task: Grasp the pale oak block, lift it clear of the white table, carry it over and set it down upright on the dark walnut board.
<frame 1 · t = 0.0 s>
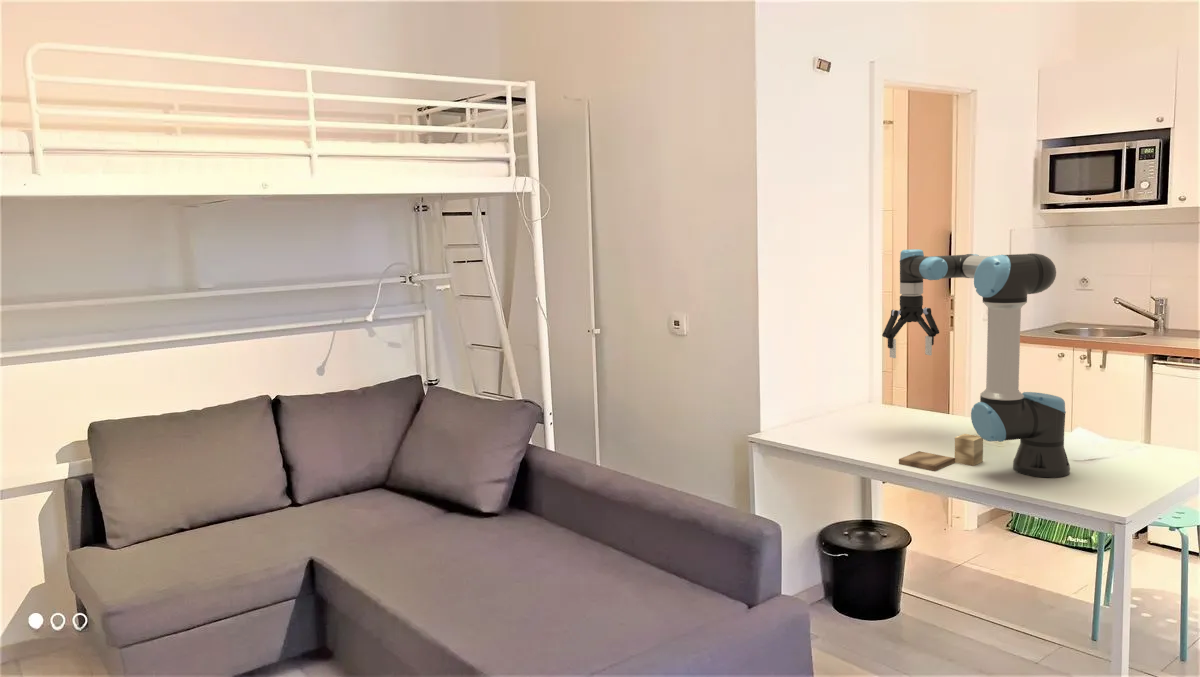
hand: (910, 356, 304), 28 cm above the table, fingers open, 13 cm apart
oak block: (968, 462, 273), on the table
walnut board: (926, 463, 274), on the table
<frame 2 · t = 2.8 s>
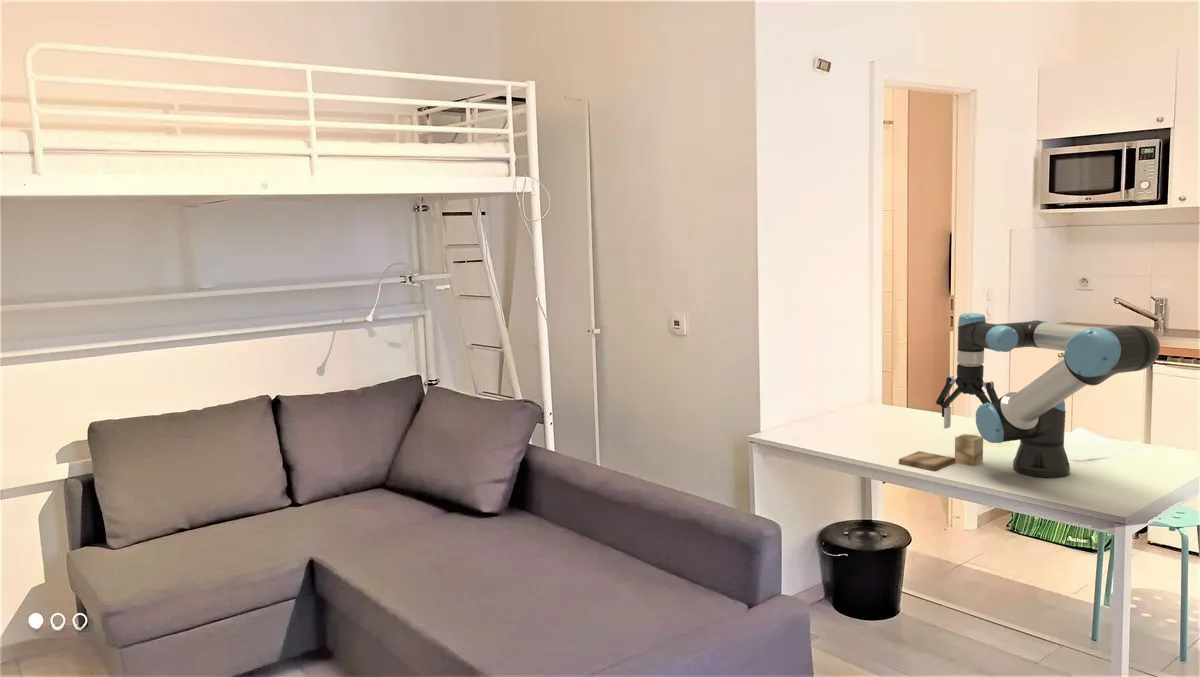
hand: (968, 431, 272), 10 cm above the table, fingers open, 13 cm apart
nothing on the table moved.
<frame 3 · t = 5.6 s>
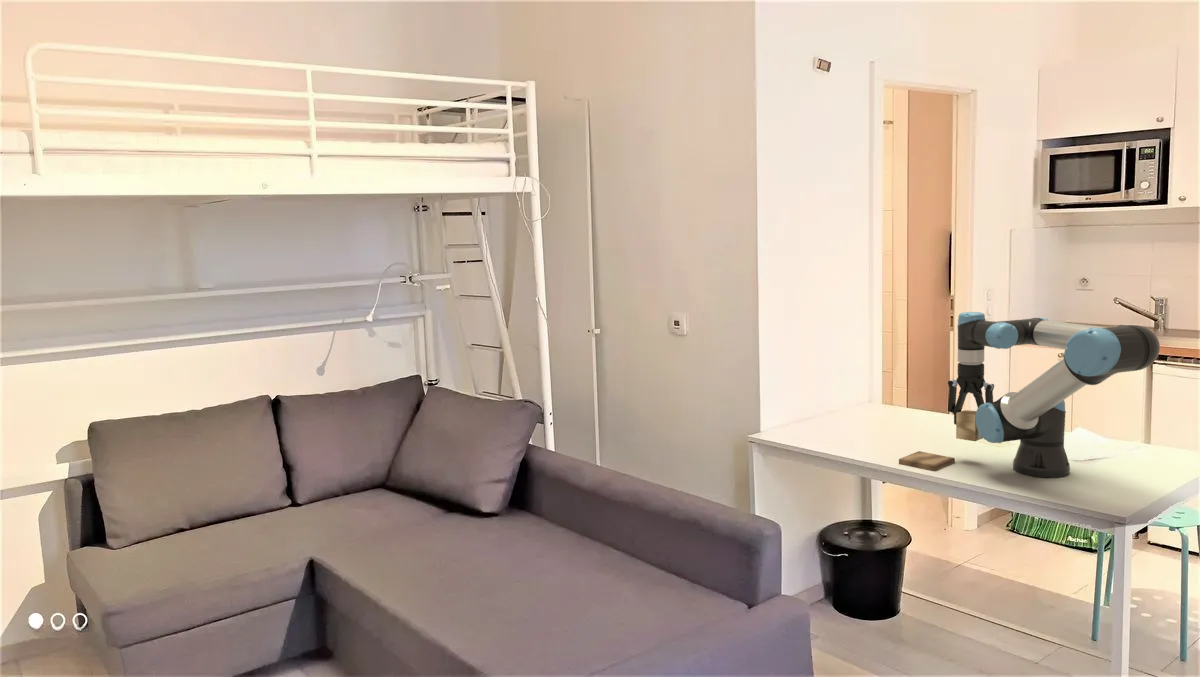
hand: (970, 436, 272), 8 cm above the table, fingers closed on oak block, 6 cm apart
oak block: (970, 438, 272), point 8 cm above the table, touching gripper
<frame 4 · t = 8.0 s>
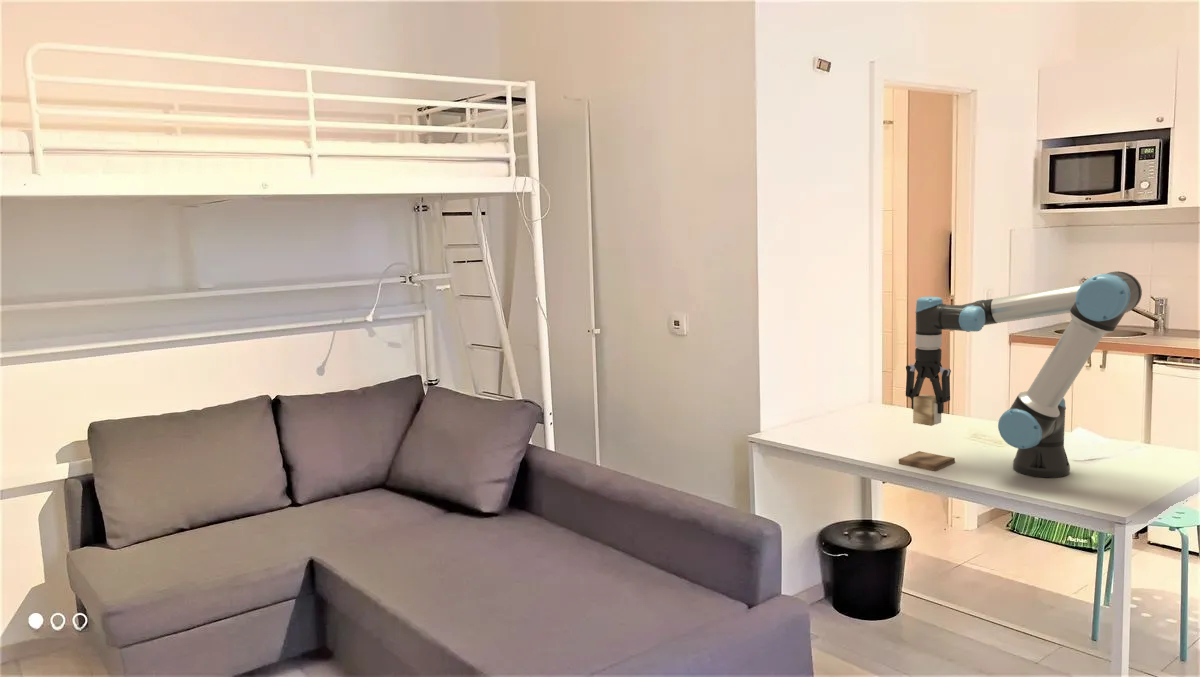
hand: (927, 421, 272), 13 cm above the table, fingers closed on oak block, 6 cm apart
oak block: (927, 422, 272), point 13 cm above the table, touching gripper
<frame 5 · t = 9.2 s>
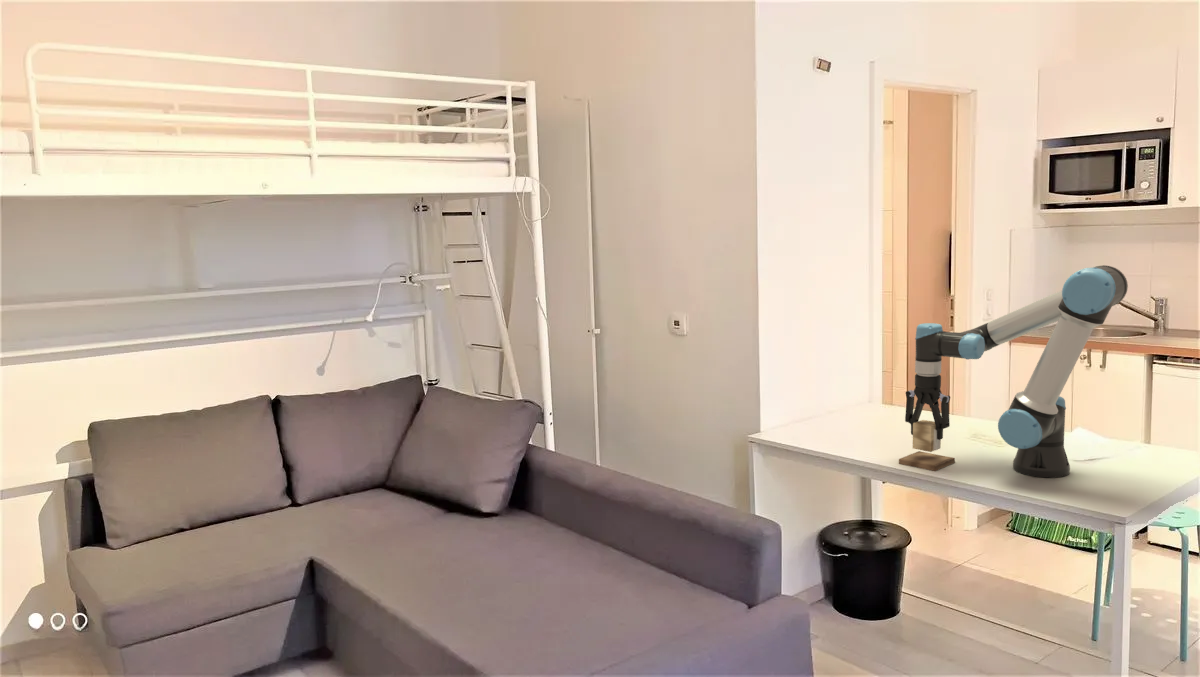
hand: (926, 447, 273), 5 cm above the table, fingers closed on oak block, 6 cm apart
oak block: (926, 448, 273), point 5 cm above the table, touching gripper
when the fingers open (2 cm above the table, at t = 10.5 s): oak block stays where it is, resting on walnut board.
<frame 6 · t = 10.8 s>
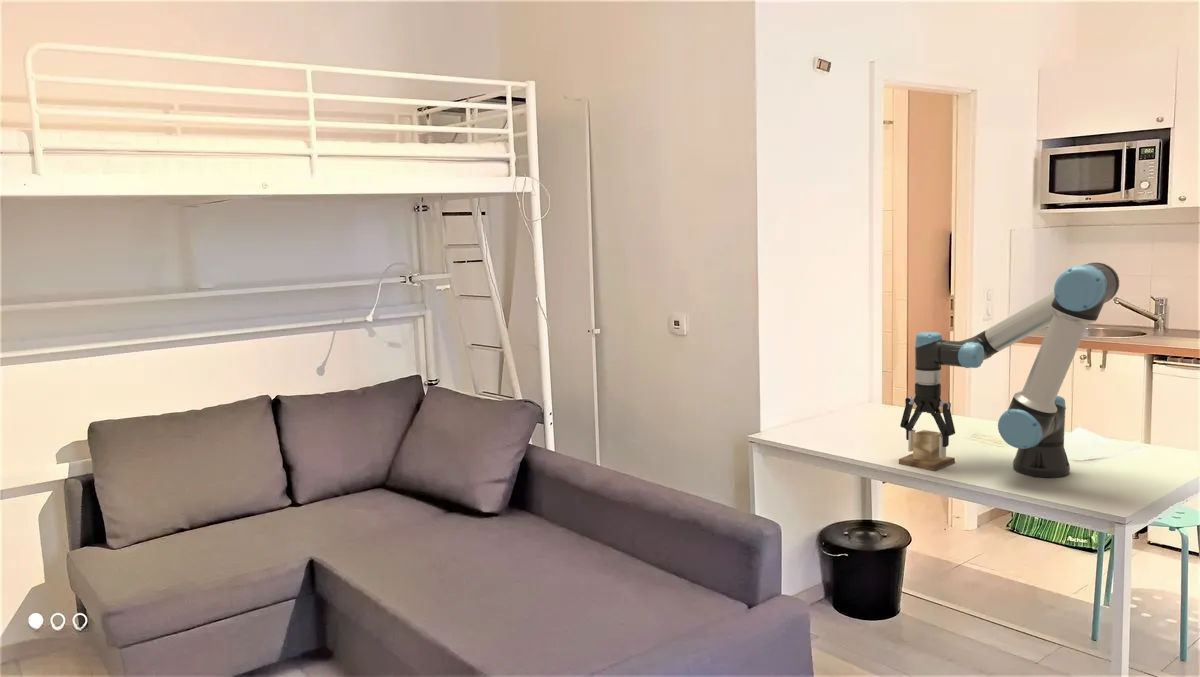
hand: (926, 453, 273), 3 cm above the table, fingers open, 9 cm apart
oak block: (927, 458, 273), point 2 cm above the table, touching walnut board
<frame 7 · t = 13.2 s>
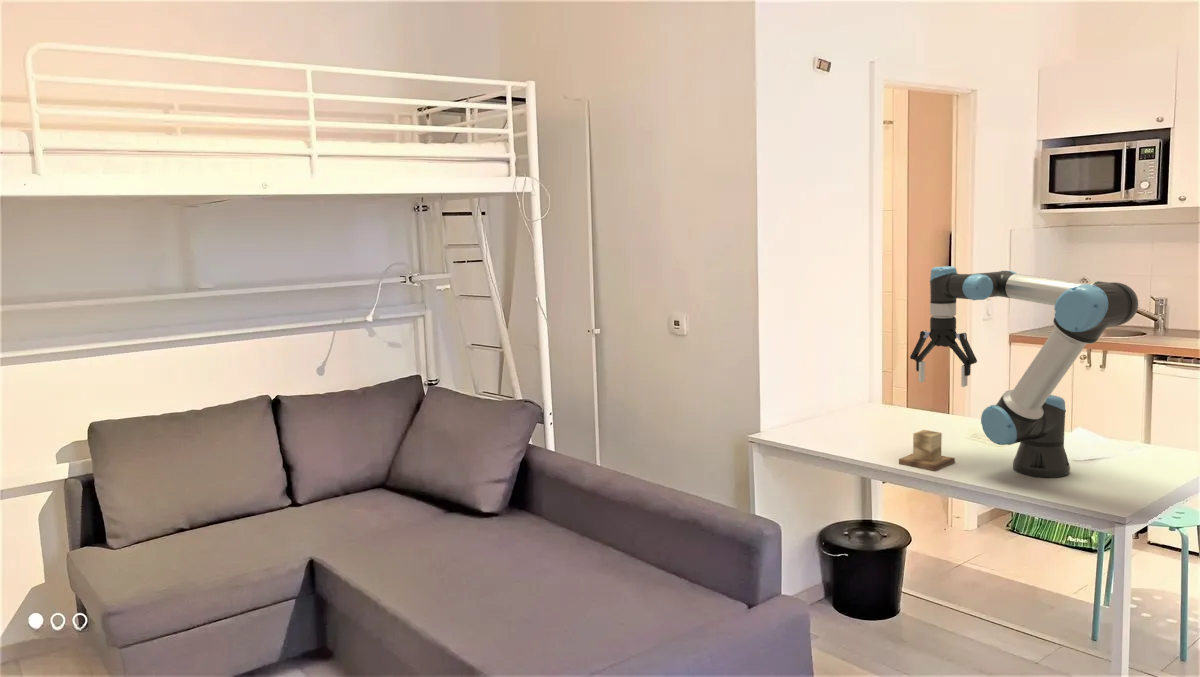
hand: (942, 384, 276), 24 cm above the table, fingers open, 13 cm apart
nothing on the table moved.
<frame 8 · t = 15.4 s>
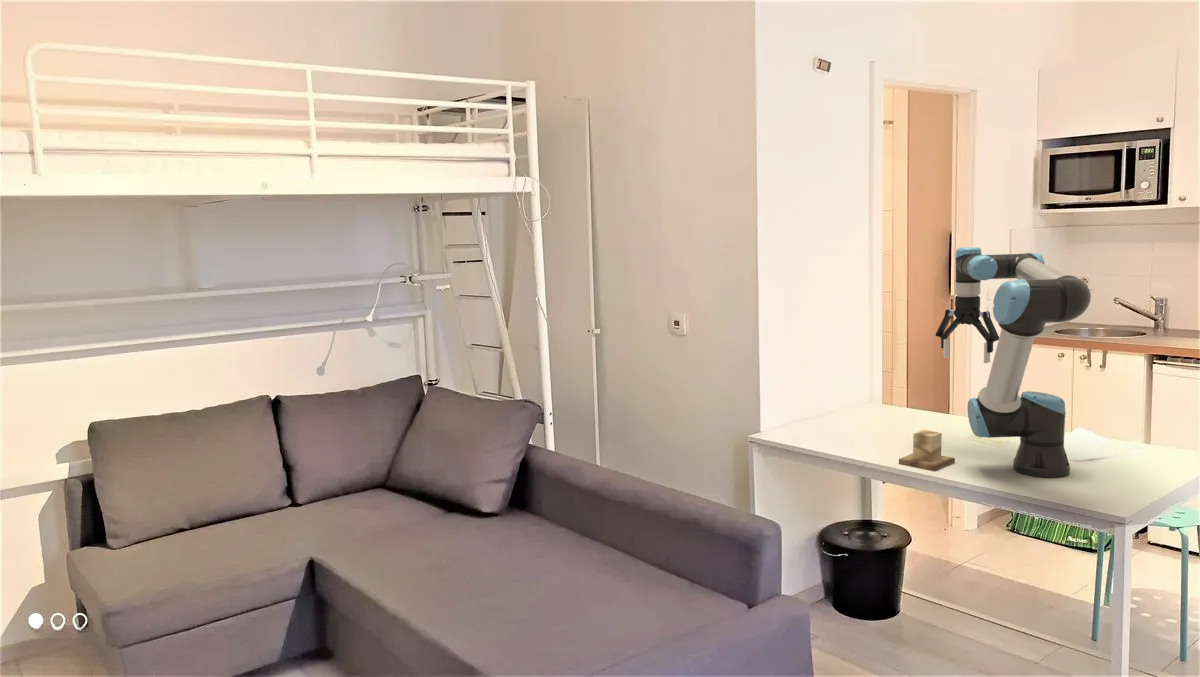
hand: (966, 360, 287), 29 cm above the table, fingers open, 13 cm apart
nothing on the table moved.
at the end: oak block inside the target area on the walnut board (0.1 cm from its centre), point 1.6 cm above the walnut board's base; oak block tilted 0°; the gripper is holding nothing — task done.
